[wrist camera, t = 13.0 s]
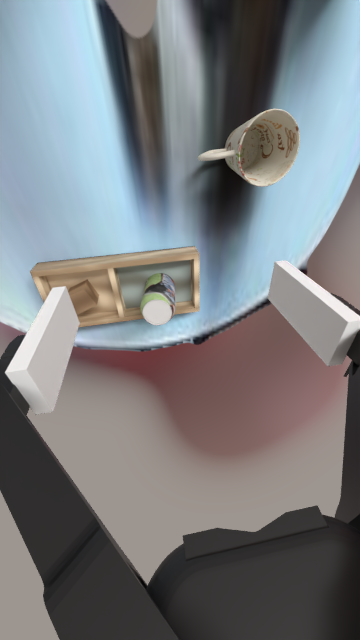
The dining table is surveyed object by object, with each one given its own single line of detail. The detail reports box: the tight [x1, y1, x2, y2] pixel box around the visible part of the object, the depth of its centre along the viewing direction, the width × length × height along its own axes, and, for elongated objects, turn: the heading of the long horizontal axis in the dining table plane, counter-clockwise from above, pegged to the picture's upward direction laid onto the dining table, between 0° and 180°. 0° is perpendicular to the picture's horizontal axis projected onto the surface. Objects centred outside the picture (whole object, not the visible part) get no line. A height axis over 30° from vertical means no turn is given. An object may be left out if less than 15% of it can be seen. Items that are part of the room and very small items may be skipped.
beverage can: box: [140, 273, 175, 325], centre depth 45 cm, size 6×7×12 cm
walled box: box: [30, 246, 199, 327], centre depth 48 cm, size 13×30×4 cm, turn 93°
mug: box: [198, 109, 300, 187], centre depth 35 cm, size 8×13×10 cm, turn 99°
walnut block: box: [68, 279, 99, 313], centre depth 47 cm, size 4×4×4 cm
